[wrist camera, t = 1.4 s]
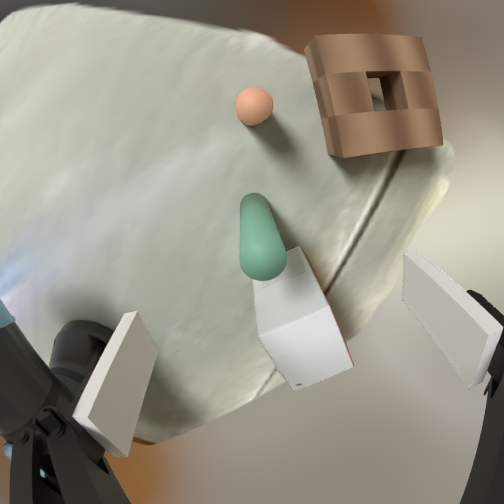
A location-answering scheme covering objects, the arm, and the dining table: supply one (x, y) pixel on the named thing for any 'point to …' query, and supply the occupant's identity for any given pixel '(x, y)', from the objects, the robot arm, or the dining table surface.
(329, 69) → the collar block
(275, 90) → the dining table surface
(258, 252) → the long dowel
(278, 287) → the small box
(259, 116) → the short dowel
